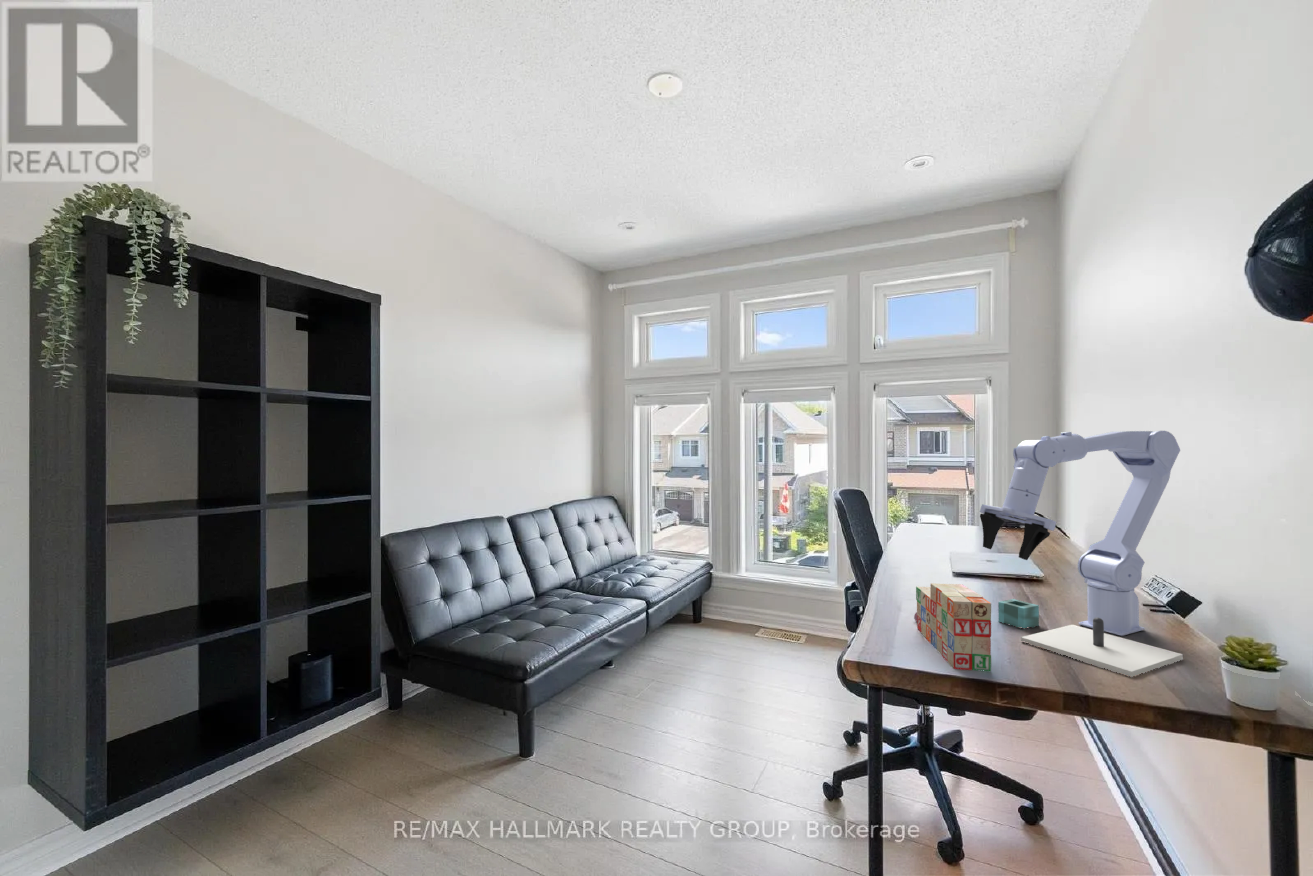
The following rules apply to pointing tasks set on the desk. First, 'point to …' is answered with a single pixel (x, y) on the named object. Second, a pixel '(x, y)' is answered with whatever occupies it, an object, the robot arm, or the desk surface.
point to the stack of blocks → (956, 624)
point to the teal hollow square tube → (1018, 613)
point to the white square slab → (1103, 649)
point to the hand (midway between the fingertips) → (1004, 553)
